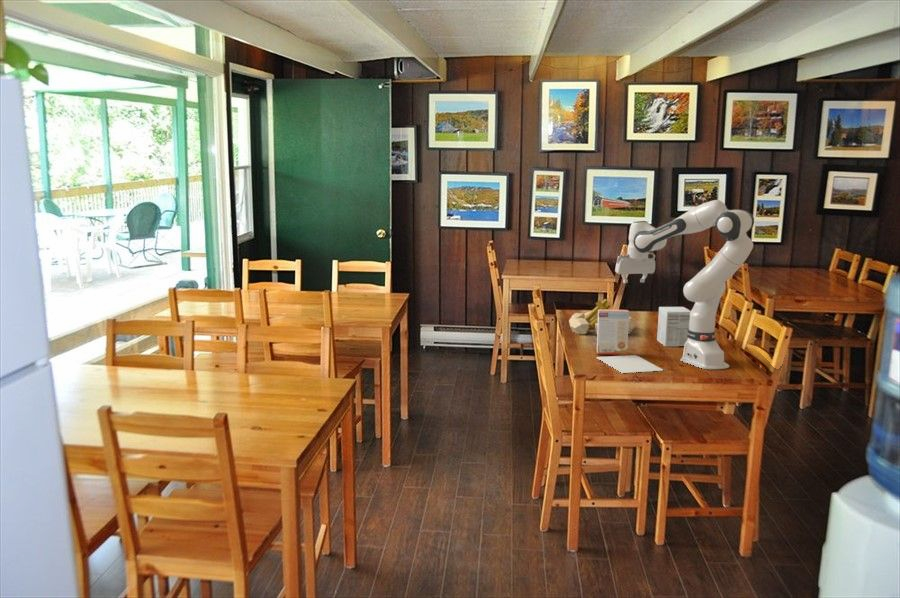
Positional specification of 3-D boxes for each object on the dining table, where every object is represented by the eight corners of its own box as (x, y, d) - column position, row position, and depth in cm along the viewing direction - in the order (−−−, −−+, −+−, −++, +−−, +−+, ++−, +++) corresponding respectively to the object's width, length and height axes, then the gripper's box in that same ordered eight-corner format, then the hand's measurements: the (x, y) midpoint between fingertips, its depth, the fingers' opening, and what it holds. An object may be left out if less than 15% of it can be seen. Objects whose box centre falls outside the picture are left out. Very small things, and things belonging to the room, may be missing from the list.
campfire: (641, 328, 415) (643, 297, 412) (624, 341, 385) (626, 308, 382) (579, 321, 431) (580, 291, 428) (558, 333, 401) (559, 301, 398)
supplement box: (691, 346, 376) (693, 312, 373) (664, 346, 376) (667, 312, 372) (681, 340, 389) (684, 306, 386) (656, 340, 389) (658, 306, 385)
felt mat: (664, 371, 334) (664, 370, 334) (622, 373, 329) (622, 372, 329) (635, 355, 358) (635, 354, 358) (596, 357, 354) (596, 357, 353)
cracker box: (626, 353, 362) (628, 309, 360) (627, 355, 357) (629, 311, 354) (596, 352, 364) (597, 308, 362) (597, 354, 358) (599, 310, 356)
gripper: (621, 255, 360) (618, 284, 363) (658, 255, 367) (655, 283, 370) (614, 253, 366) (611, 281, 369) (650, 253, 373) (648, 280, 376)
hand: (633, 282), depth 370 cm, fingers open, 8 cm apart
